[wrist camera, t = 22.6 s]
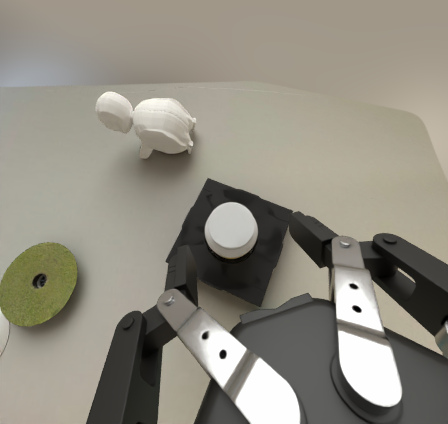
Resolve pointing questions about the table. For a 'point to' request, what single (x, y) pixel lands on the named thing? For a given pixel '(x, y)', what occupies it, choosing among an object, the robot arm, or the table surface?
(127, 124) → the white chubby doll
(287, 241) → the table surface
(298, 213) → the robot arm
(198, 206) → the pad
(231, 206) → the pill bottle
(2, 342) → the figurine
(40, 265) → the mat
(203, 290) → the table surface
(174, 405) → the table surface
